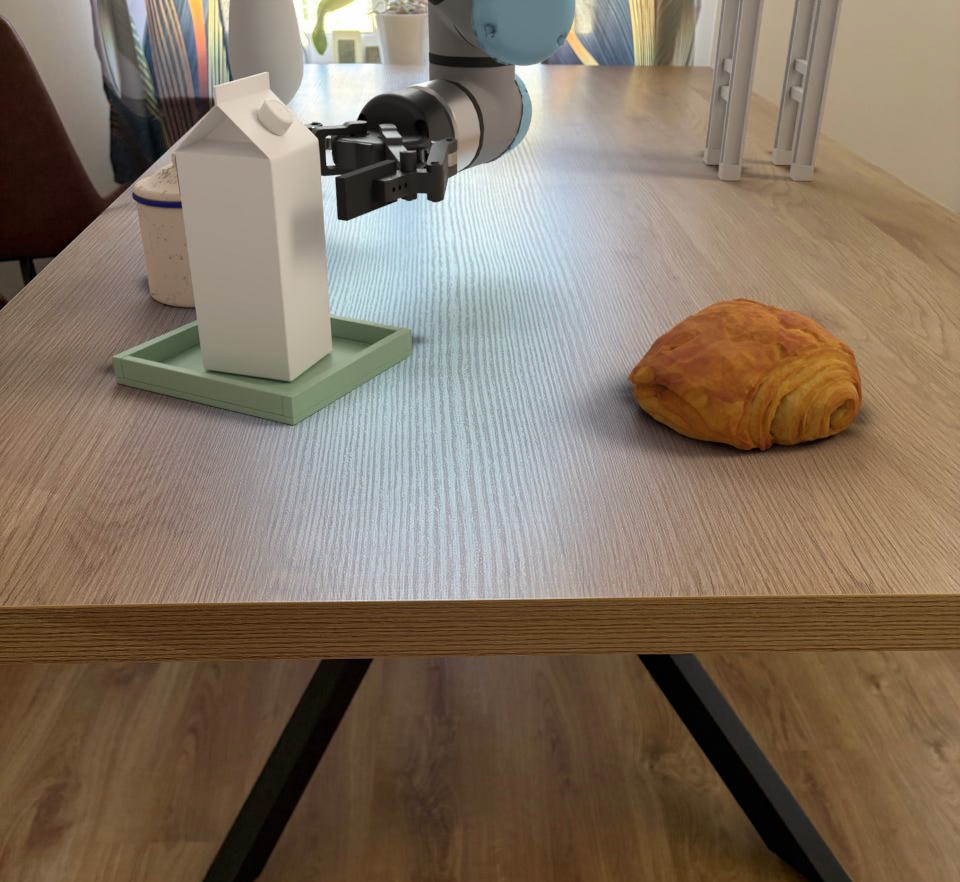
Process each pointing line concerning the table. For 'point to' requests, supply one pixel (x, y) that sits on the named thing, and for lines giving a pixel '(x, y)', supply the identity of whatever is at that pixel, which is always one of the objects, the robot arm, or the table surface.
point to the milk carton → (255, 234)
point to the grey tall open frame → (799, 89)
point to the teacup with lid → (164, 237)
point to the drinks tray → (180, 374)
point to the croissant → (749, 377)
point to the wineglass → (266, 44)
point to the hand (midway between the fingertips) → (258, 187)
